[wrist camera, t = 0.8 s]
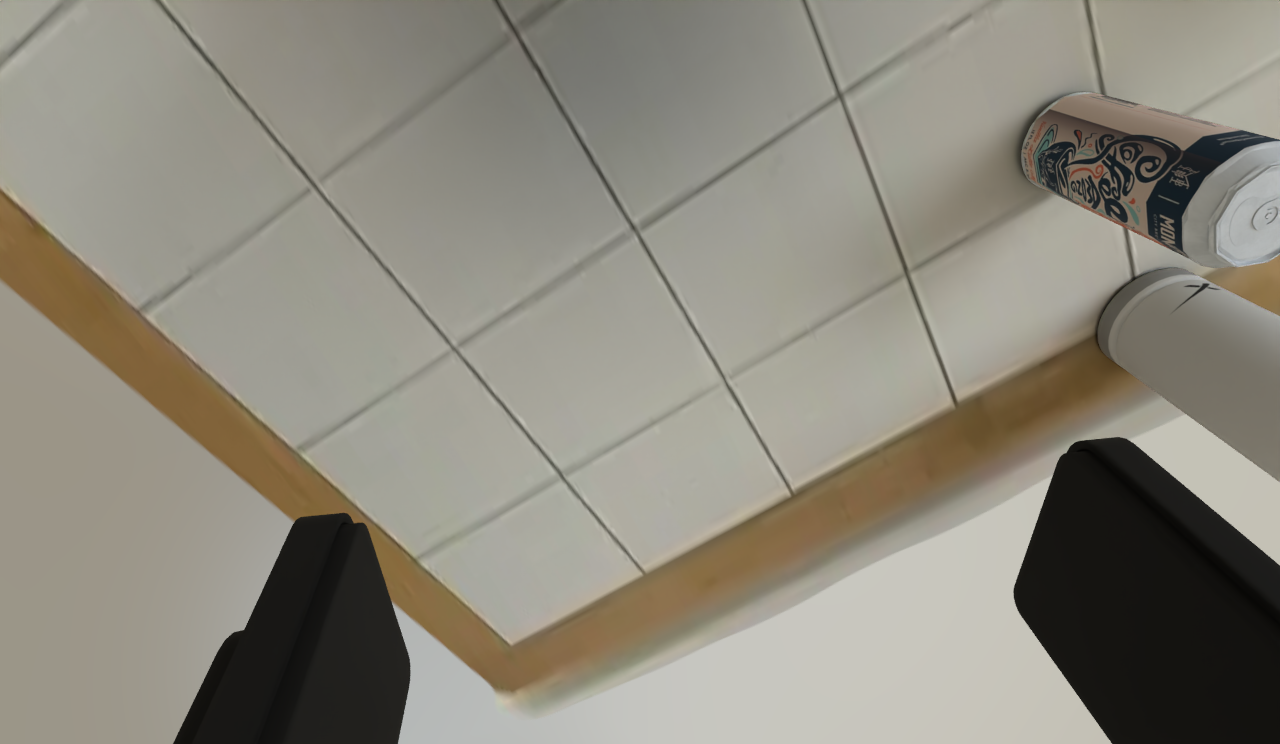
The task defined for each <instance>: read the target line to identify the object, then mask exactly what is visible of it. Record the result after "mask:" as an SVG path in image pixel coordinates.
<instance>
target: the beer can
mask: <svg viewBox="0 0 1280 744" xmlns="http://www.w3.org/2000/svg"><path fill="white" fill-rule="evenodd" d="M1021 161H1022V167H1023V171H1024V173H1025V175H1026V177H1027V178H1028V180H1029V181H1030V182H1031V183H1032V184H1034V185H1036V186H1038V187H1039V188H1041V189H1045V190H1047V191H1049V192H1052V193H1054V194H1056V195H1058V196H1060V197H1062V198H1064V199H1066V200H1068V201H1070V202H1072V203H1075V204H1077V205H1079V206H1081V207H1083V208H1085V209H1087V210H1089V211H1091V212H1093V213H1095V214H1098V215H1100V216H1102V217H1104V218H1106V219H1108V220H1110V221H1112V222H1114V223H1116V224H1119V225H1121V226H1123V227H1125V228H1127V229H1129V230H1131V231H1133V232H1135V233H1137V234H1139V235H1142V236H1144V237H1146V238H1148V239H1150V240H1152V241H1154V242H1156V243H1158V244H1160V245H1162V246H1165V247H1167V248H1169V249H1171V250H1173V251H1175V252H1177V253H1179V254H1181V255H1183V256H1185V257H1188V258H1190V259H1191V260H1193V261H1194V262H1196V263H1198V264H1200V265H1201V266H1206V267H1211V268H1221V267H1232V266H1235V267H1241V266H1247V265H1254V264H1260V263H1266V262H1269V261H1271V260H1272V259H1274V258H1275V257H1276V256H1278V255H1279V254H1280V140H1278V139H1274V138H1270V137H1266V136H1262V135H1258V134H1254V133H1250V132H1247V131H1243V130H1239V129H1235V128H1231V127H1227V126H1223V125H1219V124H1215V123H1211V122H1207V121H1203V120H1199V119H1195V118H1192V117H1188V116H1184V115H1180V114H1176V113H1172V112H1168V111H1164V110H1160V109H1156V108H1152V107H1148V106H1144V105H1140V104H1136V103H1133V102H1129V101H1125V100H1121V99H1117V98H1113V97H1109V96H1105V95H1101V94H1097V93H1093V92H1079V93H1074V94H1070V95H1067V96H1065V97H1062V98H1061V99H1059V100H1057V101H1055V102H1054V103H1052V104H1051V105H1049V106H1048V107H1047V108H1046V109H1045V110H1044V111H1043V112H1042V113H1041V114H1040V115H1039V116H1038V117H1037V118H1036V120H1035V121H1034V123H1033V124H1032V125H1031V127H1030V129H1029V131H1028V133H1027V135H1026V138H1025V140H1024V143H1023V147H1022V153H1021Z"/></svg>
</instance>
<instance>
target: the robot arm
mask: <svg viewBox="0 0 1280 744" xmlns="http://www.w3.org/2000/svg"><path fill="white" fill-rule="evenodd" d="M1014 600H1015V604H1016V607H1017V609H1018V611H1019V613H1020V615H1021V616H1022V618H1023V619H1024V620H1025V622H1026V623H1027V624H1028V626H1029V627H1030V629H1031V630H1032V632H1033V633H1034V634H1035V636H1036V637H1037V639H1038V640H1039V642H1040V643H1041V644H1042V646H1043V647H1044V648H1045V650H1046V651H1047V653H1048V654H1049V656H1050V657H1051V658H1052V660H1053V661H1054V663H1055V664H1056V665H1057V667H1058V668H1059V670H1060V671H1061V672H1062V674H1063V675H1064V677H1065V678H1066V679H1067V681H1068V682H1069V684H1070V685H1071V686H1072V688H1073V689H1074V691H1075V692H1076V694H1077V695H1078V696H1079V698H1080V699H1081V701H1082V702H1083V703H1084V705H1085V706H1086V707H1087V709H1088V710H1089V712H1090V713H1091V715H1092V716H1093V717H1094V719H1095V720H1096V722H1097V723H1098V724H1099V726H1100V727H1101V729H1102V730H1103V731H1104V733H1105V734H1106V736H1107V737H1108V738H1109V740H1110V741H1111V743H1112V744H1280V565H1278V564H1277V563H1276V562H1275V561H1274V560H1272V559H1271V558H1270V557H1269V556H1268V555H1266V554H1265V553H1264V552H1263V551H1262V550H1260V549H1259V548H1258V547H1257V546H1256V545H1255V544H1253V543H1252V542H1251V541H1250V540H1249V539H1247V538H1246V537H1245V536H1244V535H1243V534H1241V533H1240V532H1239V531H1238V530H1237V529H1235V528H1234V527H1233V526H1232V525H1231V524H1229V523H1228V522H1227V521H1226V520H1224V519H1223V518H1222V517H1221V516H1220V515H1219V514H1217V513H1216V512H1215V511H1214V510H1212V509H1211V508H1210V507H1209V506H1208V505H1207V504H1205V503H1204V502H1203V501H1202V500H1201V499H1199V498H1198V497H1197V496H1196V495H1195V494H1193V493H1192V492H1191V491H1190V490H1189V489H1188V488H1186V487H1185V486H1184V485H1183V484H1182V483H1180V482H1179V481H1178V480H1177V479H1176V478H1174V477H1173V476H1172V475H1170V473H1168V472H1167V471H1166V470H1165V469H1164V468H1162V467H1161V466H1160V465H1159V464H1158V463H1156V462H1155V461H1154V460H1153V459H1152V458H1150V457H1149V456H1148V455H1147V454H1146V453H1144V452H1143V451H1142V450H1141V449H1140V448H1138V447H1137V446H1136V445H1135V444H1134V443H1132V442H1131V441H1129V440H1127V439H1125V438H1120V437H1115V438H1105V439H1094V440H1084V441H1078V442H1075V443H1074V444H1073V445H1071V446H1070V448H1069V450H1068V451H1067V453H1065V454H1063V455H1062V456H1061V457H1060V458H1059V460H1058V462H1057V465H1056V468H1055V471H1054V474H1053V477H1052V480H1051V483H1050V486H1049V489H1048V491H1047V494H1046V497H1045V500H1044V503H1043V506H1042V508H1041V511H1040V514H1039V517H1038V520H1037V523H1036V526H1035V529H1034V531H1033V534H1032V537H1031V540H1030V543H1029V546H1028V549H1027V552H1026V555H1025V557H1024V560H1023V563H1022V566H1021V569H1020V572H1019V575H1018V577H1017V580H1016V583H1015V586H1014ZM409 683H410V659H409V655H408V652H407V649H406V646H405V642H404V640H403V636H402V633H401V630H400V627H399V624H398V621H397V618H396V615H395V612H394V608H393V605H392V602H391V599H390V596H389V593H388V590H387V587H386V584H385V580H384V577H383V574H382V571H381V568H380V565H379V562H378V559H377V556H376V553H375V549H374V546H373V543H372V540H371V537H370V534H369V531H368V529H367V526H366V525H365V524H364V523H353V521H352V519H351V517H350V516H349V515H348V514H347V513H339V514H329V515H318V516H308V517H300V518H299V519H297V520H296V521H295V523H294V524H293V526H292V528H291V530H290V532H289V534H288V536H287V538H286V541H285V543H284V545H283V547H282V549H281V551H280V554H279V556H278V558H277V560H276V562H275V565H274V567H273V569H272V571H271V573H270V575H269V577H268V580H267V582H266V584H265V586H264V588H263V591H262V593H261V595H260V597H259V599H258V601H257V603H256V606H255V608H254V610H253V612H252V614H251V617H250V619H249V621H248V623H247V625H246V627H245V629H244V630H243V631H238V632H234V633H233V634H232V635H230V636H229V637H228V638H227V639H226V640H225V641H224V643H223V644H222V646H221V647H220V649H219V651H218V652H217V654H216V656H215V658H214V661H213V662H212V665H211V667H210V669H209V671H208V673H207V675H206V677H205V679H204V681H203V683H202V685H201V687H200V689H199V692H198V693H197V696H196V698H195V700H194V702H193V704H192V706H191V708H190V710H189V712H188V714H187V716H186V718H185V721H184V722H183V724H182V727H181V729H180V731H179V733H178V735H177V737H176V739H175V741H174V743H173V744H398V740H399V734H400V730H401V725H402V720H403V715H404V709H405V705H406V700H407V694H408V690H409Z"/></svg>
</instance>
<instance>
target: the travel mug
mask: <svg viewBox="0 0 1280 744" xmlns="http://www.w3.org/2000/svg"><path fill="white" fill-rule="evenodd" d="M1098 342H1099V346H1100V349H1101V350H1102V352H1103V353H1104V354H1105V355H1106V356H1107V357H1108V358H1110V359H1111V360H1112V361H1114V362H1115V363H1117V364H1118V365H1119V366H1121V367H1122V368H1123V369H1125V370H1127V371H1128V372H1129V373H1130V374H1132V375H1133V376H1134V377H1136V378H1137V379H1139V380H1140V381H1141V382H1143V383H1144V384H1145V385H1147V386H1148V387H1150V388H1151V389H1152V390H1154V391H1155V392H1156V393H1158V394H1159V395H1161V396H1162V397H1163V398H1165V399H1166V400H1167V401H1169V402H1170V403H1172V404H1173V405H1174V406H1176V407H1177V408H1178V409H1180V410H1181V411H1183V412H1184V413H1185V414H1187V415H1188V416H1190V417H1191V418H1192V419H1194V420H1195V421H1196V422H1198V423H1199V424H1200V425H1202V426H1203V427H1205V428H1206V429H1207V430H1209V431H1210V432H1212V433H1213V434H1214V435H1216V436H1217V437H1218V438H1220V439H1221V440H1223V441H1224V442H1225V443H1227V444H1228V445H1229V446H1231V447H1232V448H1234V449H1235V450H1237V451H1238V452H1239V453H1240V454H1242V455H1243V456H1245V457H1246V458H1247V459H1249V460H1250V461H1252V462H1253V463H1254V464H1256V465H1257V466H1258V467H1260V468H1261V469H1263V470H1264V471H1265V472H1267V473H1268V474H1269V475H1271V476H1272V477H1274V478H1275V479H1276V480H1278V481H1279V482H1280V316H1278V315H1276V314H1274V313H1272V312H1270V311H1268V310H1266V309H1264V308H1262V307H1260V306H1258V305H1256V304H1254V303H1252V302H1250V301H1248V300H1246V299H1244V298H1242V297H1239V296H1237V295H1235V294H1233V293H1231V292H1229V291H1227V290H1225V289H1223V288H1221V287H1219V286H1217V285H1215V284H1213V283H1211V282H1209V281H1207V280H1205V279H1203V278H1201V277H1199V276H1197V275H1195V274H1193V273H1191V272H1189V271H1187V270H1184V269H1179V268H1166V269H1161V270H1156V271H1153V272H1150V273H1148V274H1145V275H1143V276H1141V277H1139V278H1137V279H1135V280H1134V281H1132V282H1131V283H1130V284H1128V285H1127V286H1125V287H1124V288H1123V289H1122V290H1121V291H1120V292H1119V293H1118V294H1117V295H1116V296H1115V297H1114V298H1113V299H1112V301H1111V302H1110V303H1109V304H1108V306H1107V308H1106V309H1105V311H1104V312H1103V315H1102V317H1101V319H1100V322H1099V327H1098Z"/></svg>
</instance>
